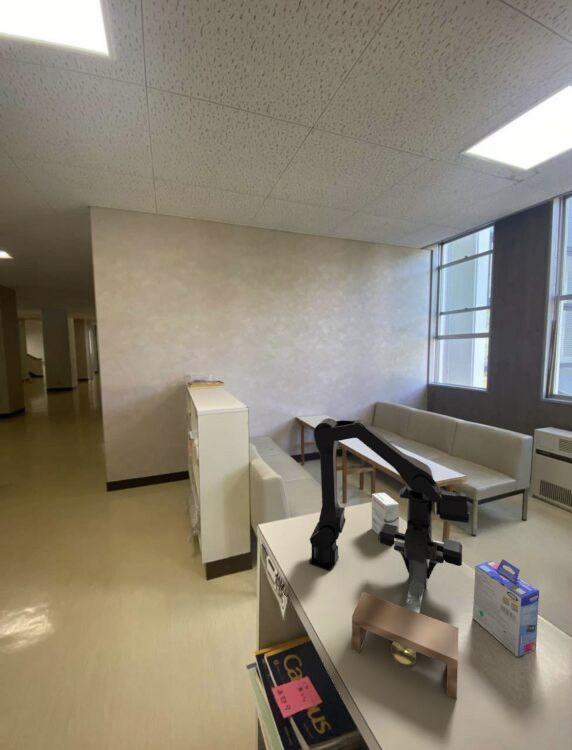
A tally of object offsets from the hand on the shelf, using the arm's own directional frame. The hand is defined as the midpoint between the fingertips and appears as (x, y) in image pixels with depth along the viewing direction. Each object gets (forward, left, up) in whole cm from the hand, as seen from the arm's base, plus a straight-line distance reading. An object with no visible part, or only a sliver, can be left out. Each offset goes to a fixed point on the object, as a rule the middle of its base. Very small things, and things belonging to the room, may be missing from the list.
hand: (418, 574), depth 78 cm
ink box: (-12, +17, -2) cm, 21 cm away
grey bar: (0, -7, -2) cm, 7 cm away
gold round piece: (0, -22, -2) cm, 22 cm away
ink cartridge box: (+17, -7, -2) cm, 19 cm away
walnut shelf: (0, -22, -2) cm, 22 cm away
